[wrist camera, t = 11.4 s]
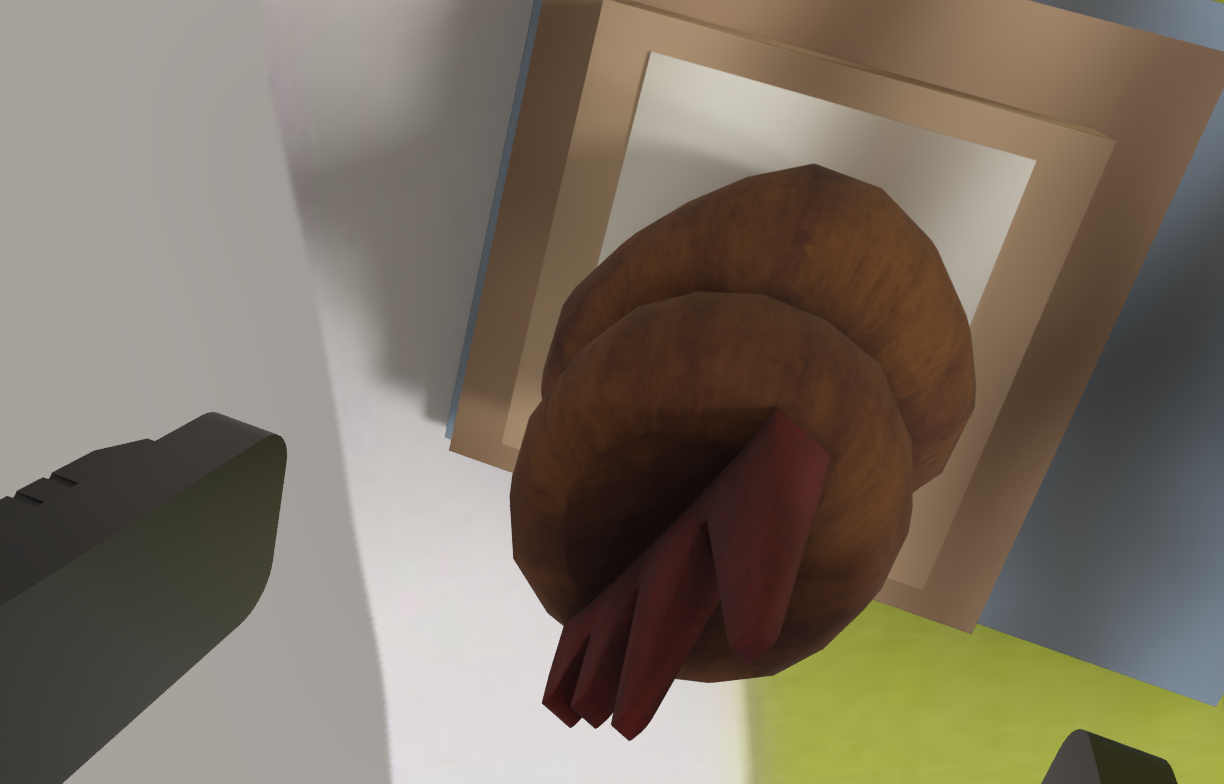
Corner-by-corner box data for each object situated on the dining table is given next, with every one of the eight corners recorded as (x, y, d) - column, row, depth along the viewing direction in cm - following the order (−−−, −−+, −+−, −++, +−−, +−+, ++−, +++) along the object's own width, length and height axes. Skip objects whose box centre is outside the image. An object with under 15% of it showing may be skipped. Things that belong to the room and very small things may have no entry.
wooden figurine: (880, 92, 20) (840, 255, 6) (1000, 358, 21) (1195, 1006, 7) (579, 245, 22) (73, 605, 9) (700, 477, 23) (420, 1125, 10)
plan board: (1550, 90, 22) (1768, 114, 17) (1205, 685, 28) (1281, 847, 23) (580, -158, 25) (491, -208, 20) (457, 425, 32) (363, 511, 26)
